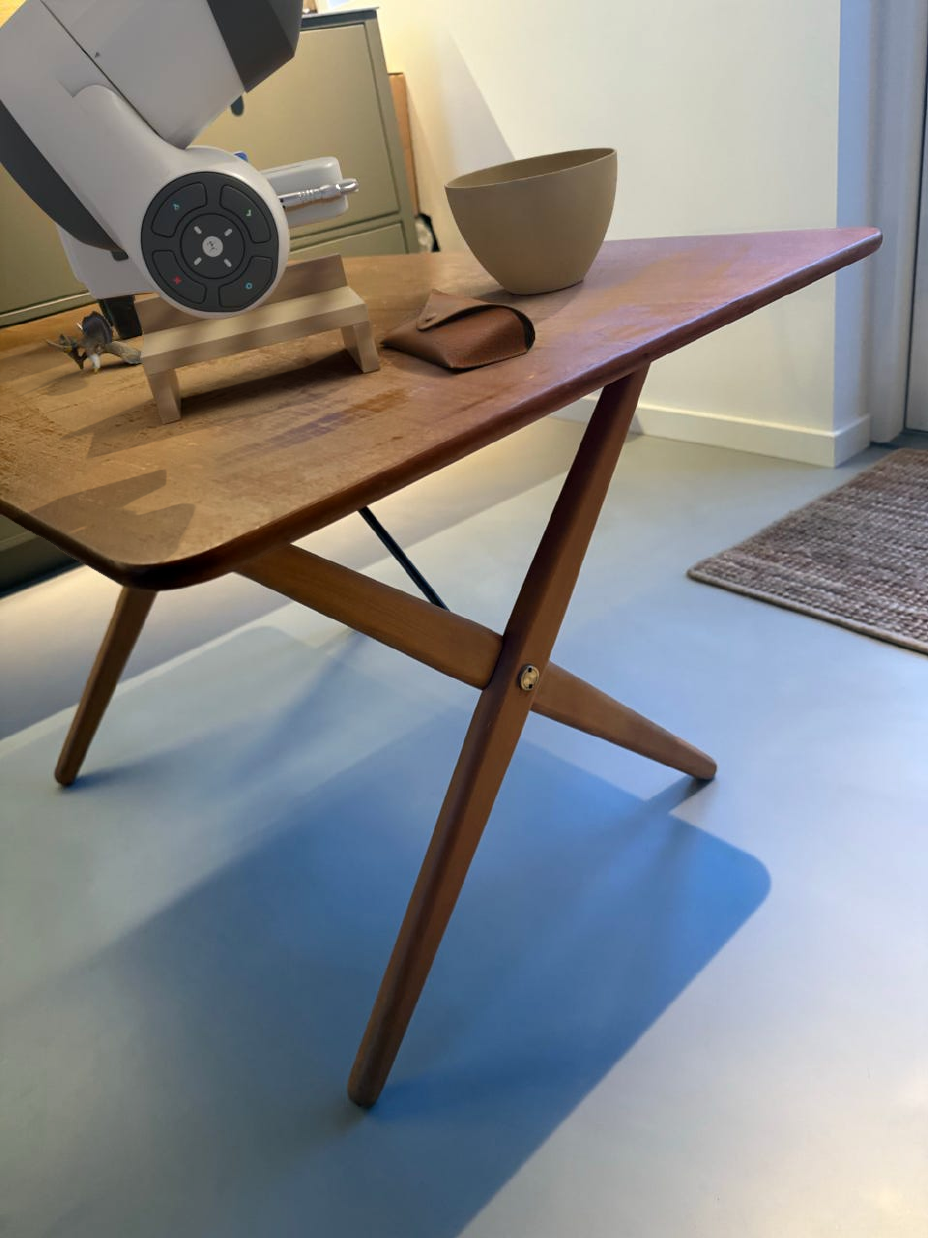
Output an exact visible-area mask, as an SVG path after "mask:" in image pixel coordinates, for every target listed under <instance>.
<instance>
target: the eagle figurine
mask: <svg viewBox="0 0 928 1238" xmlns="http://www.w3.org/2000/svg"><path fill="white" fill-rule="evenodd" d="M75 325H76V326H77V328H78V329H79V330H80V331H81V332H82V334H83V337H82V338H81V339H79V340H76V339H75V338H73V337H72V336H71V335H66V336H65V334H63V333H60V335H59V336H58V342H59V344H60V345H59V344H57V343H54V342H52V341H50V340H48V339H44V342H45V343H46V344H47V345H48V346H49V347H51V348H52V349H54V350H58V351H60V352H63V353H65V354H67V356H68V357H70V358H71V359H72V360H73V361H74V362H75V363H76V365H77V366H78V367H79V369H80V370H81V371H83V370H84V367H85V366H84V364H85V363H84V362H85V361H86V360H87V359H89V362H90V364H91V366H92V368H93V370H94V372H93V374H97V373H98V371H99V369H100V368H101V361H100V356H102V355H105V354H111V355H113V356H115V357H117V358H120V359H121V360H123V361H124V362H126V363H127V364H129V365H132V364H135V365H138V364H142V363H141V360H140V356H141V350H139V349H137V348H136V347H134V346H132V345H130V344H128V343H125V342H122V341H116V340H114V339H113V338H114V337H115V335H114V330H113V328H111V326H112V325H110V324H109V323H108V321H107V320H106V319H105V317H104V316H103V313H100V312H99V311H97V310H92V311H91V313H90V314H89V315H86V316H83V318H82V322H81V324H79V323H78V322H76V323H75ZM67 338H68V339H67ZM81 348H82V349H85V350H84V351H83V353H82V354H81V355H80V354H79V349H81Z"/></svg>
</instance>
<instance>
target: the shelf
mask: <svg viewBox="0 0 928 1238" xmlns="http://www.w3.org/2000/svg"><path fill="white" fill-rule="evenodd" d="M347 279H348V278H347V275H346V271H345V267H344V263H343V258H342V254H341V253H340V252H334V253H331V254H327V255H322V256H318V257H313V258H309V259H306V260H301V261H297V262H293V263H292V262H291V263H287V265H286V268H285V271H284V273H283V276H282V278H281V280H280V282H279V283H278V285H277V287H276V288H275V290H274V291H273V293H272V294H271V295H270V296H269V297H268V298H267V300H266V301H264V302H263V303H262V304H261V305H259V306H258V307H256V308H255V309H253V310H251V311H249V312H246V313H244V314H242V315H239V316H236V317H233V318H228V319H222V320H211V319H204V318H199V317H195V316H192V315H190V314H187V313H185V312H183V311H180V310H179V309H177V308H175V307H174V306H172V305H171V304H169V303H168V302H166V301H165V300H164V299H163V298H162V297H160V296H159V295H158V294H157V295H153V296H149V297H145V298H141V299H135V300H136V301H134V306H135V309H136V312H137V315H138V318H139V321H140V324H141V327H142V331H143V335H144V336H143V341H142V346H141V350H140V351H141V356H140V360H141V363H140V364H141V366H142V369H143V371H144V375H145V378H146V380H147V383H148V386H149V388H150V391H151V395H152V397H153V400H154V403H155V406H156V409H157V412H158V414H159V417H160V419H161V423H162V425H166V424H170V423H174V422H178V421H181V414H182V411H181V410H182V409H181V408H182V387H181V384H180V381H179V378H178V375H177V372H176V369H180V368H184V367H188V366H192V365H196V364H200V363H205V362H208V361H212V360H215V359H220V358H224V357H228V356H232V355H236V354H237V355H238V354H240V353H241V354H242V353H245V352H249V351H252V350H258V349H260V348H261V349H262V348H265V347H269V346H273V345H277V344H281V343H285V342H290V341H294V340H296V339H301V338H307V337H309V336H314V335H318V334H321V333H326V332H330V331H334V330H337V329H340V333H341V336H342V340H343V344H344V348H345V349H346V350H347V352H348V353H349V355H350V356H351V357H352V359H353V360H354V362H355V363H356V364H357V366H358V367H359V368H360V370H361V371H362V373H363V374H367V373H371V372H376V371H378V370H381V365H380V364H381V363H380V361H379V356H378V353H377V352H378V351H377V348H376V343H375V339H374V333H373V329H372V326H371V321H370V316H369V312H368V307H367V303H366V302H365V301H364V300H363V299H362V298H361V297H360V296H359V295H358V294H357V293H356V292H355V291H354V289H352V288H351V287H350V286H349V283H348V280H347Z"/></svg>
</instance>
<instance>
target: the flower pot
mask: <svg viewBox="0 0 928 1238" xmlns="http://www.w3.org/2000/svg"><path fill="white" fill-rule="evenodd" d="M617 184H618V150H617V149H616V148H615V147H614V148H613V147H590V148H579V149H571V150H566V151H559V152H553V153H548V154H541V155H535V156H531V157H526V158H520V159H516V160H512V161H507V162H504V163H503V162H502V163H499V164H495V165H490V166H488V167H483V168H480V169H477V170H473V171H471V172H467V173H464V174H461V175H459V176H456V177H453V178H451V179H449V180H447V181H446V182H445V183H444V185H443V187H444V190H445V195H446V199H447V202H448V205H449V208H450V211H451V214H452V216H453V219H454V222H455V225H456V226H457V228H458V231H459V232H460V235H461V237H462V238H463V240H464V242H465V243H466V246H467V247H468V249H469V250H470V252H471V253H472V255H473V256H474V257H475V259H476V260H477V262H479V264H480V265H481V267H482V268H483V269H484V270H485V271H486V272H487V273H488V275H490V276H491V277H492V278H493V280H495V281H496V282H497V284H499V285H500V286H501V287H502V288H503V289H505V290H506V291H507V292H509V293H511V294H514V295H520V296H521V295H522V296H523V295H524V296H525V295H528V296H529V295H538V294H546V293H550V292H554V291H558V290H559V291H560V290H563V289H567V288H569V287H571V286H574V285H577V284H578V283H580V282H581V281H582V280H583V279H585V277H586V275H587V274H588V272H589V270H590V269H591V267H592V265H593V263H594V262H595V260H596V258H597V255H598V253H599V252H600V250H601V247H602V246H603V243H604V240H605V238H606V235H607V233H608V230H609V227H610V223H611V219H612V215H613V210H614V206H615V200H616V193H617Z"/></svg>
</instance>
